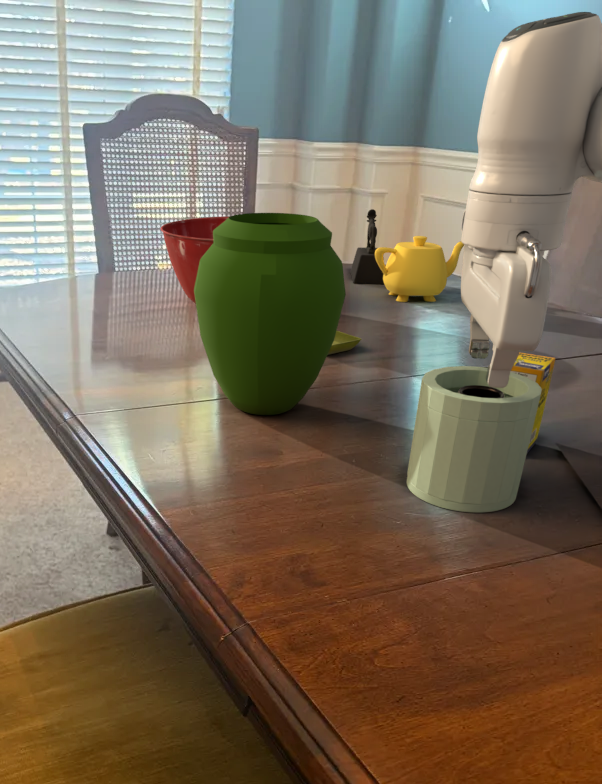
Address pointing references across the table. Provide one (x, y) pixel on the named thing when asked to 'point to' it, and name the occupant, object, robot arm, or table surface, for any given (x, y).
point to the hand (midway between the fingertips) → (486, 370)
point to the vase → (268, 307)
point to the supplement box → (541, 374)
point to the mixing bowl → (189, 247)
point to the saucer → (343, 342)
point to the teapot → (416, 268)
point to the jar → (470, 440)
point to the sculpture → (367, 258)
